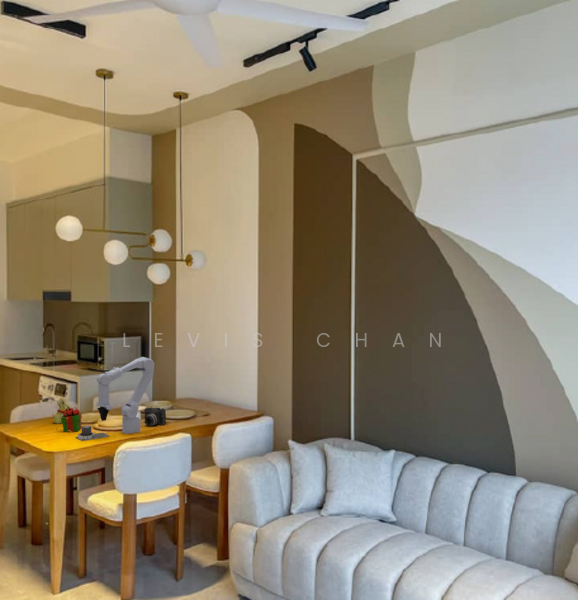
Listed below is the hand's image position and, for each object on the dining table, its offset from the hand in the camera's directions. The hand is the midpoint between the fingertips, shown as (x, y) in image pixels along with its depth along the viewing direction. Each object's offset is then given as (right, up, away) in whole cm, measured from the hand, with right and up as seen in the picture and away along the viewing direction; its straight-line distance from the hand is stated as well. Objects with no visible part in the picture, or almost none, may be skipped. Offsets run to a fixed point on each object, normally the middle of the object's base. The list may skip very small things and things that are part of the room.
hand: (103, 420), depth 324 cm
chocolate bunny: (-36, -8, +33) cm, 49 cm away
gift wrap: (-22, -9, +9) cm, 25 cm away
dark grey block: (-8, -8, -4) cm, 12 cm away
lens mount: (-5, -9, -2) cm, 11 cm away
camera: (+20, -9, +31) cm, 37 cm away
